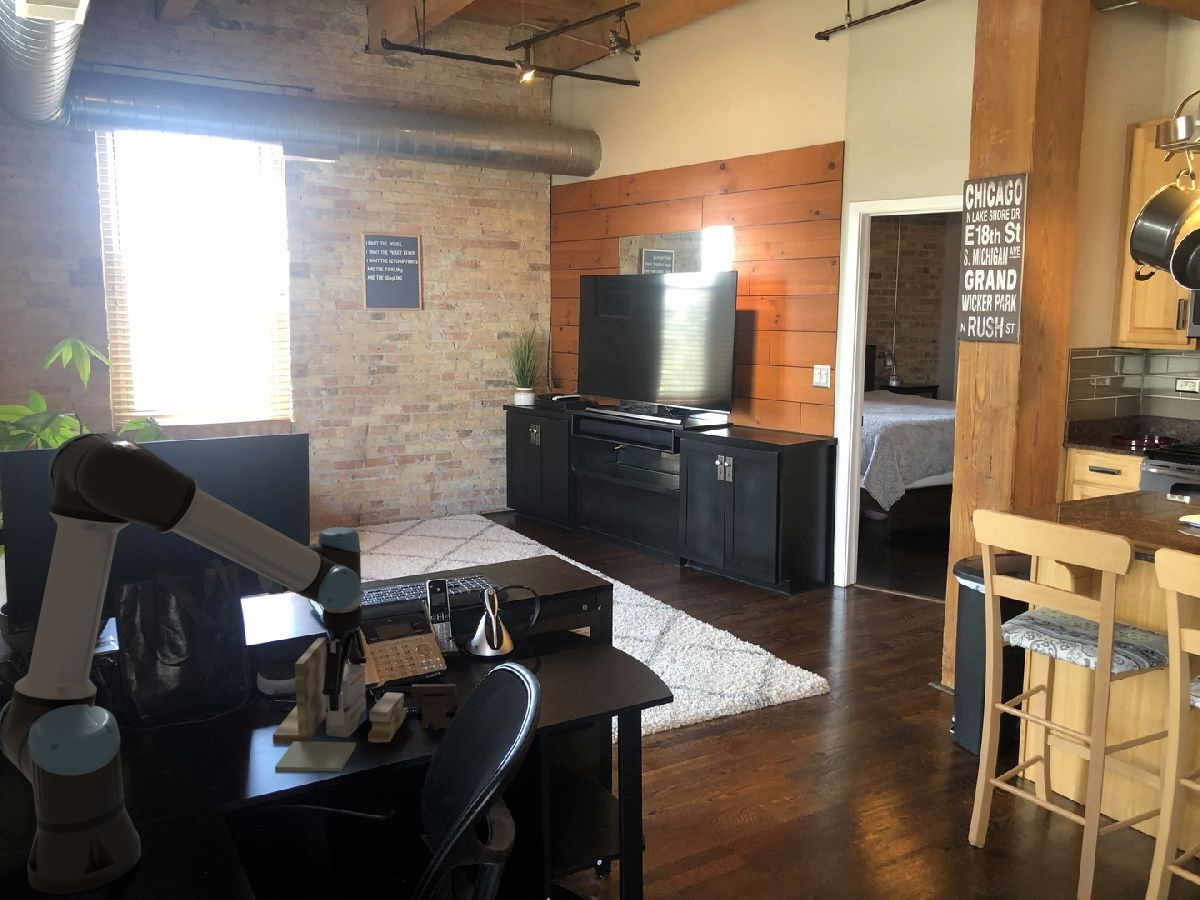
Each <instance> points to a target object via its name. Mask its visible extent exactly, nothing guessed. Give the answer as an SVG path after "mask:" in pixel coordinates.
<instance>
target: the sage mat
mask: <svg viewBox="0 0 1200 900" xmlns="http://www.w3.org/2000/svg"><path fill="white" fill-rule="evenodd" d="M355 747H356V748H357V742H355V741H354V742H347V741H346V742H344V741H343V742H342V741H340V742H339V741H334V742H333V741H308V742H298V741H294V742H293V743H290V746H289V747H288V748H287V750H286V751H285V753H284V754H283V755H282V757H281V758H280V759H279V760H278V761H277V763H276V764H275V766H274V772H310V771H340V772H339V773H341V772H342V771H343V769H344V768H343V767H345V766H346V764H347V763H346V762H348V761H349V759H350V758H349V757H351V755H353V753H354V751H355V750H356V748H355ZM352 752H353V753H352ZM347 760H348V761H347ZM344 765H345V766H344ZM341 770H342V771H341Z"/></svg>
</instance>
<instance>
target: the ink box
mask: <svg viewBox="0 0 1200 900" xmlns="http://www.w3.org/2000/svg"><path fill="white" fill-rule="evenodd" d="M366 691H367V690H366V665H364V664H360V665H353V664H352V663H345V668H344V674H343V680H342V686H341V692H343V712H344V725H343V726H334V725H329V717H328V695H326V717H325V733H326V736H331V737H337V738H344V739H346V738H347V739H348V738H349V737H350V736H351V735H353V733H354V732H356V730H358V728H359V727H361V725H362V724H363V723H364V722H365V721H366V720H367V701H366V700H367V698H366V697H367V696H366V695H367V693H366Z"/></svg>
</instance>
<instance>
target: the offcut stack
mask: <svg viewBox="0 0 1200 900" xmlns="http://www.w3.org/2000/svg"><path fill="white" fill-rule="evenodd" d="M404 704H405V693H402V692H388V691H387V692H385V693H384V695H383V696H382V697H381V698H380V699H379V700H378V701H377V702H376V703H375V704H374V705H373V707H372V708H371V709H370V710H369V713H368V714H369V722H371V726H372V728H370V730H369V732H368V742H369V741H370V742H369V743H381V742H389V741H390V742H391V741H392V739H393V737H394V736H395V735H396V733H397V731H398V730H399V729H400V727H401V725H402V724H403V722H404V721H405V720H406V718H407V716H406V714H407V710H408V709H407V707H404ZM405 717H406V718H405ZM391 738H392V739H391ZM371 741H372V742H371ZM390 742H389V743H390Z"/></svg>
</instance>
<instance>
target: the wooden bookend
mask: <svg viewBox="0 0 1200 900" xmlns="http://www.w3.org/2000/svg"><path fill="white" fill-rule="evenodd" d="M326 658H327V638H326V637H317V639H315V640H314V642H313V643H312V644H311V645H310V646H309V647H308V649H306V651H305V652H304V653H303V654H302V655H301V656H300V657H299V658H298V660H297V661H296V662H295V663H294V672H295V673H294V674H295V675H294V676H295V678H294V679H295V693H296V695H295V696H296V705H295V707H294V708H293V709H292V710H291V711H290V712H289V713H288V715H287V716H286V718H285V719H284V720H283V721H282V722H281V724H280V725H279V726H278V727H277V728H276V730H275V731H274V732H273V734H272V743H273V744H276V743H278V744H279V743H280V744H282V743H283V744H284V743H285V744H286V743H287V744H288V743H289V744H292V743H293V742H294V741H298V742H310V740H311V738H312V737H313V736H314V735H315V732H317V730H318V729H319V727H320V726H321V724H322V723H323V722H324V720H326V695H323V694H322V690H323V689H324V678H325V668H326Z"/></svg>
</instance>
